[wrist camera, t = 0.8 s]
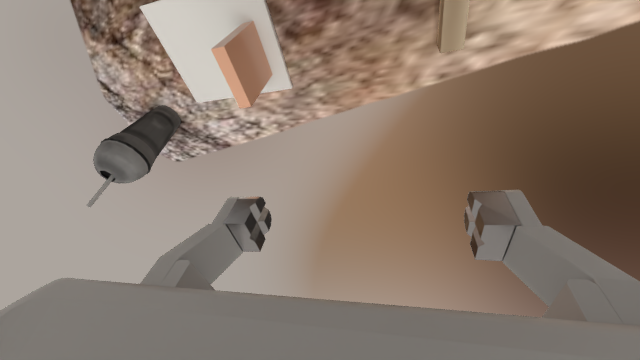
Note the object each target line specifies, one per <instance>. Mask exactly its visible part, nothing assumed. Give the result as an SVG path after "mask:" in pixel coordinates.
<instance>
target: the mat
mask: <svg viewBox="0 0 640 360" xmlns="http://www.w3.org/2000/svg"><path fill="white" fill-rule="evenodd" d="M140 9H141V10H142V12H143V14H144V15H145V17H146V18H147V20H148V22H149V23H150V25H151V27H152V28H153V30H154V32H155V33H156V35H157V37H158V38H159V40H160V42H161V43H162V45H163V47H164V48H165V50H166V52H167V53H168V55H169V57H170V58H171V60H172V62H173V63H174V65H175V67H176V68H177V70H178V72H179V73H180V75H181V77H182V78H183V80H184V82H185V83H186V85H187V87H188V88H189V90H190V92H191V93H192V95H193V97H194V98H195V100H196V102H197V103H200V102H207V101H213V100H220V99H226V98H233V95H232V93H231V90H230V88H229V86H228V84H227V82H226V80H225V78H224V76H223V74H222V72H221V70H220V68H219V66H218V64H217V62H216V60H215V58H214V56H213V54H212V52H211V49H212V48H213V47H214V46H215V45H217V44H218V43H219V42H220V41H222V40H223V39H224V38H225V37H226V36H228V35H229V34H230V33H231V32H232V31H234V30H235V29H236V28H237V27H239V26H240V25H241V24H242V23H246V22H250V21H254V24H255V26H256V29H257V32H258V35H259V37H260V40H261V43H262V46H263V49H264V51H265V54H266V57H267V60H268V63H269V65H270V68H271V71H272V74H273V75H272V76H271V78H270V79H269V81H268V82H267V84H266V85H265V87H264V88H263V90H262V91H261V93H266V92H272V91H279V90H285V89H292V88H293V85H292V82H291V79H290V75H289V72H288V69H287V66H286V63H285V60H284V56H283V53H282V50H281V47H280V44H279V41H278V37H277V34H276V31H275V28H274V25H273V22H272V18H271V15H270V12H269V9H268V6H267V3H266V0H159V1H156V2H152V3H149V4H146V5H142V6H140Z"/></svg>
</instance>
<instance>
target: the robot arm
mask: <svg viewBox="0 0 640 360" xmlns="http://www.w3.org/2000/svg"><path fill="white" fill-rule="evenodd" d="M467 201H468V203H469V206H468V207H467V208H466V209H465V214H464V223H465V228H466V232H467V234H468V235H470V236H471V242H470V245H471V248H472V251H473V254H474V258H475V259H476V260H494V261H503V263H504V264H505V265H506V266H507V267H508V268H509V269H510V270H511V271H512V272H513V273H514V274H515V275H516V276H517V277H518V278H520V279H521V280H522V281H523V282H524V283H525V284H526V285H527V286H528V287H529V288H530V289H531V290H532V291H533V292H534V293H535V294H536V295H537V296H538V297H539V298H540V299H541V300H542V301H543V302H544V303H546V304H547V306H549V308H548V309H547V311H546V312H545V314H544V315H543V316H542V318H541V317H529V316H516V315H505V314H493V313H481V312H469V311H457V310H445V309H432V308H421V307H409V306H396V305H384V304H373V303H372V304H371V303H360V302H349V301H348V302H347V301H336V300H324V299H312V298H300V297H287V296H276V295H263V294H252V293H240V292H228V291H216V290H214V288H213V287H212V286H211V285H210V284H211V283H213V282H214V281H215V280H216V279H217V278H218V277H219V276H220V275H221V274H222V273H223V272H224V271H225V270H226V269H227V268H228V267H229V266H230V265H231V264H232V263H233V262H234V261H235V260H236V259H237V258H238V257H239V256H240V255H241V254H242V253H243V252H242V251H244V252H245V251H246V252H249V251H250V252H253V251H255V252H260V251H261V248H262V246H263V244H264V241H265V237H264V234H265V233H267V232H268V231H269V229H270V227H271V214H270V212H269V210H268V209H266V208H265V207H264V206H265V201H264V199H263V198H262V197H230V198H228V199H227V201H226V203H225V204H224V205H223V207H222V208H221V210H220V212H219V213H218V215H217V216H216V218H215V219H214V221H213V222H212V224H208V225H206V226H205V227H204V228H202V229H200V230H199V231H198V232H196V233H195V234H193V235H192V236H191V237H189V238H187V239H186V240H184V241H183V242H182V243H180V244H179V245H177V246H176V247H174V248H173V249H171V250H170V251H168V252H167V253H165V254H164V255H163V256H161V257H160V258H159V259H158V260H157V262H156V263H155V265H154V266H153V267H152V268H151V270H150V271H149V273H148V274H147V275H146V277H145V278H144V279H143V281H142V282H141V283H140V284H132V283H120V282H108V281H97V280H84V279H74V278H61V279H58V280H55V281H53V282H51V283H49V284H47V285H45V286H43V287H41V288H39V289H37V290H35V291H33V292H31V293H30V294H28V295H27V296H24V297H23V298H21V299H19V300H17V301H16V302H14V303H12V304H11V305H9V306H7V307H5V308H4V309H2V310H1V311H0V360H640V282H639V281H638V280H636V279H634V278H633V277H631V276H629V275H628V274H626V273H624V272H623V271H621V270H620V269H618V268H616V267H615V266H613V265H611V264H609V263H608V262H606V261H605V260H603V259H601V258H600V257H598V256H596V255H595V254H593V253H591V252H590V251H588V250H587V249H585V248H583V247H582V246H580V245H578V244H576V243H575V242H573V241H571V240H570V239H568V238H566V237H565V236H563V235H562V234H560V233H558V232H557V231H555V230H554V229H552V228H550V227H548V226H542V224H541V223H540V221H539V219H538V218H537V216H536V214H535V213H534V211H533V209H532V208H531V206H530V204H529V203H528V201H527V199H526V198H525V196H524V194H523V193H522V192H521V191H520V190H503V191H475V192H469V194H468V198H467Z"/></svg>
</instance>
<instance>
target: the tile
mask: <svg viewBox="0 0 640 360" xmlns="http://www.w3.org/2000/svg"><path fill="white" fill-rule="evenodd" d="M211 52H212V54H213V56H214V58H215V60H216V62H217V64H218V66H219V68H220V70H221V72H222V74H223V76H224V78H225V80H226V82H227V84H228V86H229V88H230V90H231V93H232V95H233V97H234V99H235V101H236V103H237V105H238V106H239V108H246V107H251V106H252V105H253V103H254V102H255V100H256V99H257V97H258V96H259V94H260V93H261V91H262V90H263V88H264V87H265V85H266V84H267V82H268V81H269V79H270V78H271V76H272V75H273V74H272V71H271V68H270V65H269V63H268V60H267V57H266V54H265V51H264V49H263V46H262V43H261V40H260V37H259V35H258V32H257V29H256V26H255V24H254V21H250V22H246V23H242V24H241V25H240V26H239V27H237V28H236V29H235V30H234V31H232V32H231V33H230V34H229V35H228V36H226V37H225V38H224V39H223V40H222V41H220V42H219V43H218V44H217V45H215V46H214V47H213V48H212V49H211Z"/></svg>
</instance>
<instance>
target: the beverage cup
mask: <svg viewBox="0 0 640 360" xmlns="http://www.w3.org/2000/svg"><path fill="white" fill-rule="evenodd" d="M180 124H181V120H180V117H179V115H178V114H177V113H176V112H175V111H174V110H173V109H171V108H169V107H167V106H163V105H162V106H158V107H157V108H155V109H154V110H152V111H150V112H149V113H147V114H146V115H144V116H143V117H142V118H140V119H139V120H137V121H136V122H134V123H133V124H131V125H130V126H128V127H127V128H125V129H124V130H123V131H121V132H120V133H117V134H115V135H113V136H111V137H109V138H108V139H104V140H103V141H102V142H101V144H100V145H99V146H98V148H97V149H96V151H95V154H94V159H93V161H94V166H95V168H96V170H97V172H98V173H99V174H100V175H101V176H102V177H103V178H105V179H107V181H106V182H105V183H104V184H103V186H102V187H101V188H100V189H99V191H98V192H97V193H96V194H95V196H94V197H93V198H92V199H91V200H90V202H89V203H88V204H87V206H88V207H91V206H92V205H93V204H94V202H95V201H96V200H97V199H98V197H99V196H100V195H101V194H102V192H103V191H104V190H105V189H106V187H107V186H108V185H109V184H110V182H115V183H130V182H134V181H136V180H138V179H140V178H141V177H143V176H144V175H146V174H147V173H149V171H150V169H151V167H152V165H153V163H154V161H155V159H156V158H157V156H158V155H159V153H160V152H161V151H162V149H163V148H164V147H165V145H166V144H167V143H168V141H169V140H170V138H171V137H172V136H173V134H174V133H175V132H176V130H177V128H178V126H179V125H180Z"/></svg>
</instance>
